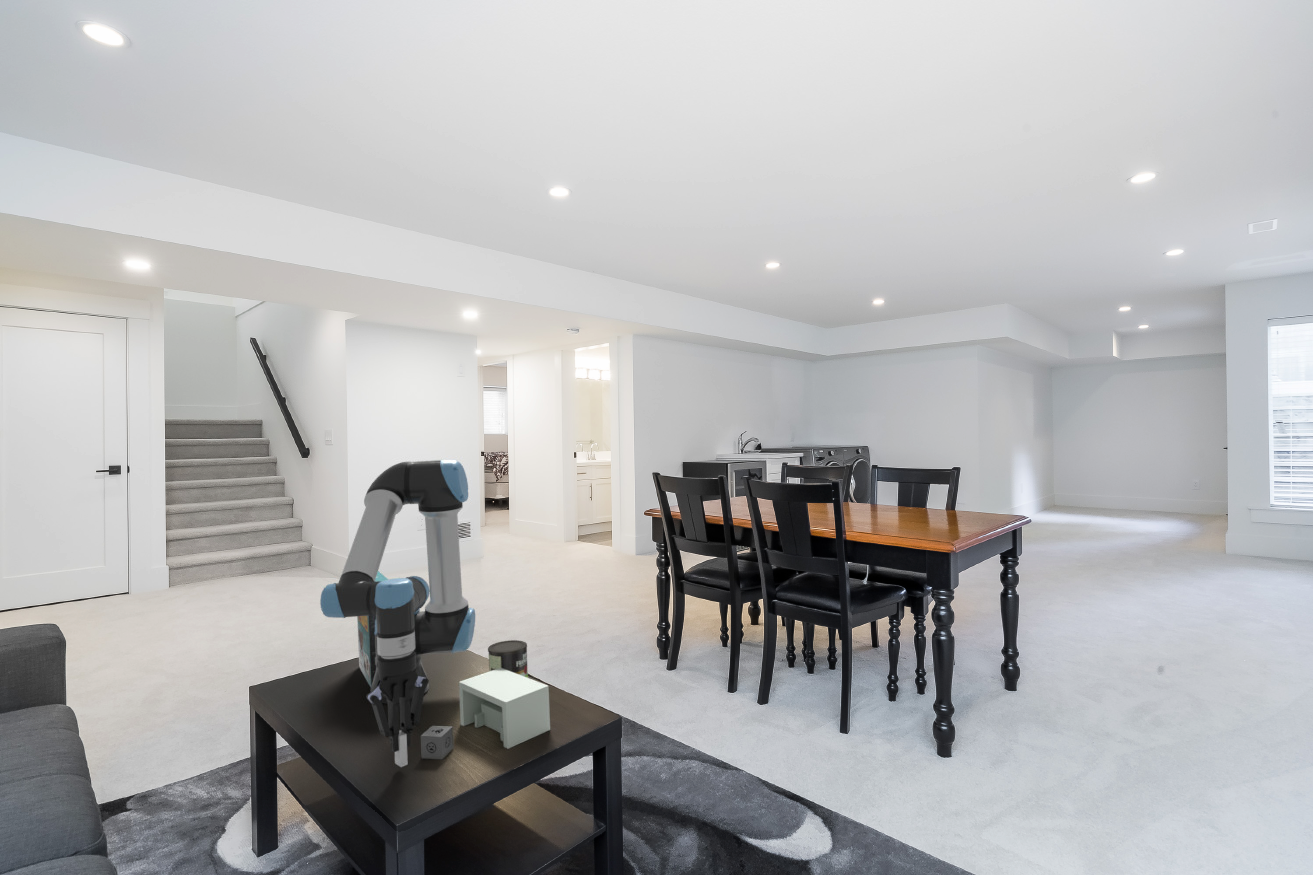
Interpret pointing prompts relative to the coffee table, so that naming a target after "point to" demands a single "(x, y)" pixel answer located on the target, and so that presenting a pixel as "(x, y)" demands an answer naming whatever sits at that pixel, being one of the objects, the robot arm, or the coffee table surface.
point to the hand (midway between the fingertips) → (401, 763)
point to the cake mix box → (368, 642)
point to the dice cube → (436, 742)
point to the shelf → (505, 705)
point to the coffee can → (509, 656)
